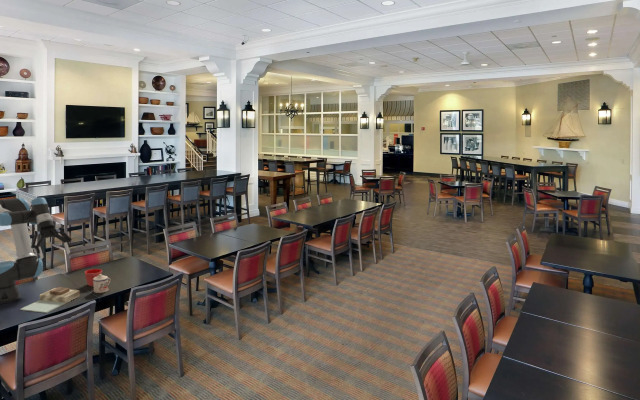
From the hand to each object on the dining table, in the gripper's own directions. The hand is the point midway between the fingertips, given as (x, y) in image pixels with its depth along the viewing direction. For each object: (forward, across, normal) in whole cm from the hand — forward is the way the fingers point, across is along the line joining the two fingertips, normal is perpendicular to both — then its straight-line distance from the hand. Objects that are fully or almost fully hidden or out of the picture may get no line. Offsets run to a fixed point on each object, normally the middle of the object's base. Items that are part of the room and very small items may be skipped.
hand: (55, 255), depth 233 cm
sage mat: (+18, -2, +36) cm, 40 cm away
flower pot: (+9, +34, +49) cm, 60 cm away
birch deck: (+15, +9, +40) cm, 44 cm away
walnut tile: (+12, +9, +38) cm, 41 cm away
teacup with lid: (+18, +33, +37) cm, 53 cm away
